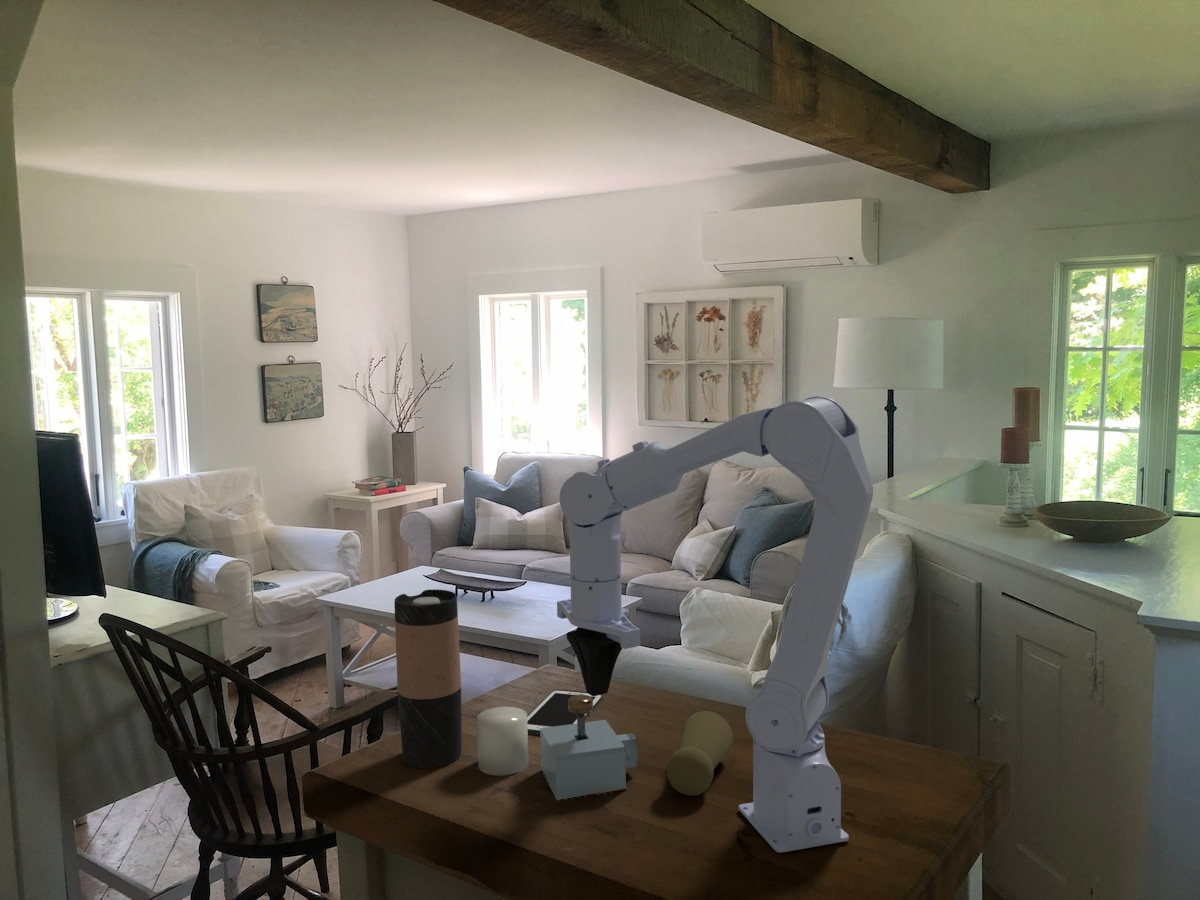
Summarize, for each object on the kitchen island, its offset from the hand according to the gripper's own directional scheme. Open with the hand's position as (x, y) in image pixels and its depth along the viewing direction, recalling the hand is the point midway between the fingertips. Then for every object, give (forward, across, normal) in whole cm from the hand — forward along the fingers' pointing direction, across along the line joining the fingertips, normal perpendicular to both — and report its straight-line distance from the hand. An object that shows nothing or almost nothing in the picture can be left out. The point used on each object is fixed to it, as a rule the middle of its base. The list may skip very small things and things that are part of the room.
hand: (597, 692), depth 106 cm
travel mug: (+11, +17, +13) cm, 24 cm away
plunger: (+7, +1, +1) cm, 7 cm away
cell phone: (+11, +20, -6) cm, 23 cm away
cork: (+7, -3, -14) cm, 16 cm away
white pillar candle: (+11, +10, +7) cm, 16 cm away
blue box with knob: (+10, +1, 0) cm, 10 cm away
